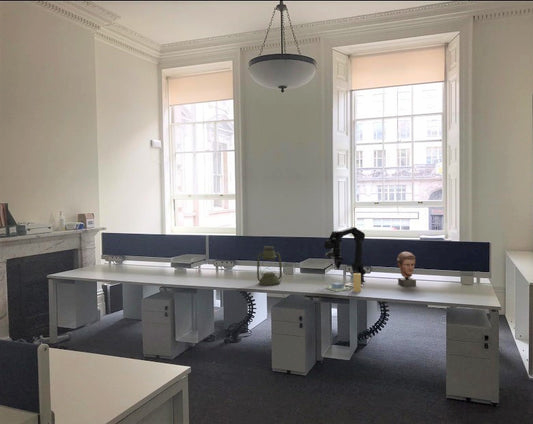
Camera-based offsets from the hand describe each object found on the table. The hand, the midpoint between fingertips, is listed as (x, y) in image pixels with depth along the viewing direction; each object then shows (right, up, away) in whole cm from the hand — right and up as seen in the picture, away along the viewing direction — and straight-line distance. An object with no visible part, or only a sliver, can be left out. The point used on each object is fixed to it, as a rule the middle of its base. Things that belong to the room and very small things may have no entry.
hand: (337, 268), depth 359 cm
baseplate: (-1, -14, -9) cm, 17 cm away
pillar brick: (+12, -15, -17) cm, 26 cm away
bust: (+53, -13, -2) cm, 55 cm away
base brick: (-1, -14, -9) cm, 17 cm away
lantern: (-51, -14, +14) cm, 55 cm away
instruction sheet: (+13, -13, +2) cm, 19 cm away
